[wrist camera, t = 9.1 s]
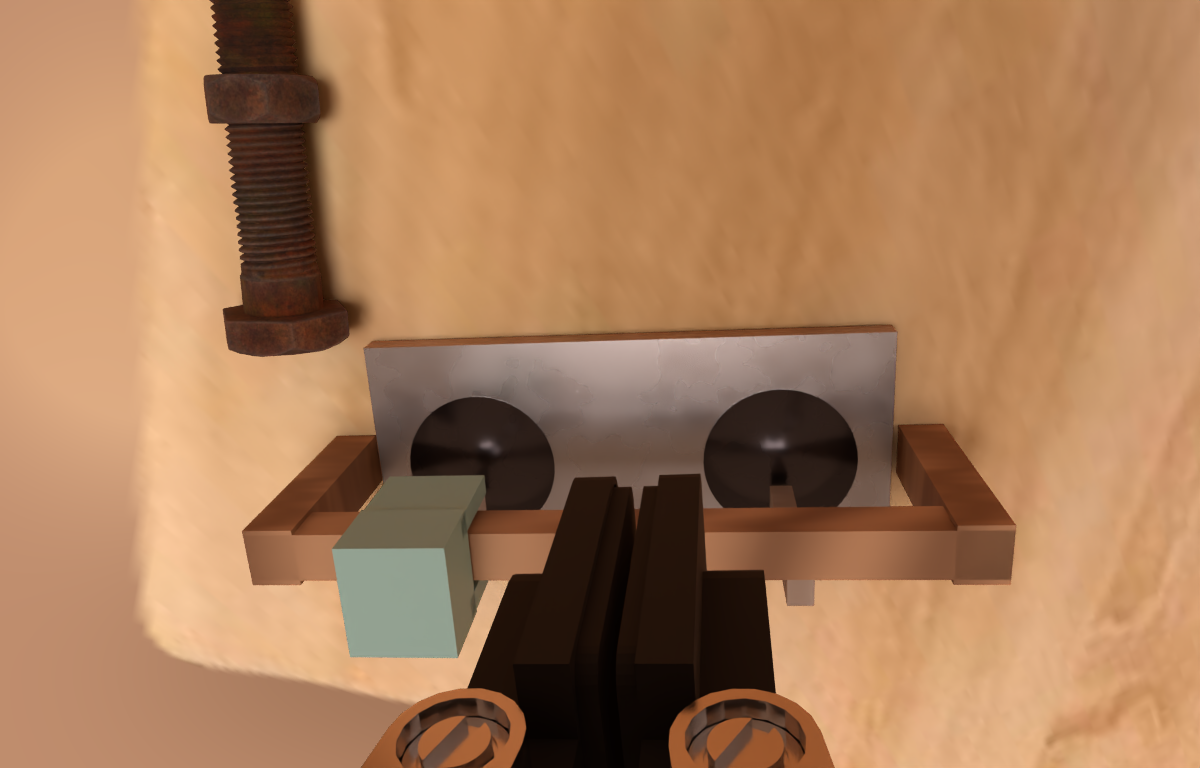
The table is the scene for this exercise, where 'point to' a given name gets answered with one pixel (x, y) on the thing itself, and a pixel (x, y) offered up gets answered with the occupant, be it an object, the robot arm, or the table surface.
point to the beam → (732, 535)
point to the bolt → (270, 182)
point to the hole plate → (644, 413)
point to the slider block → (411, 568)
